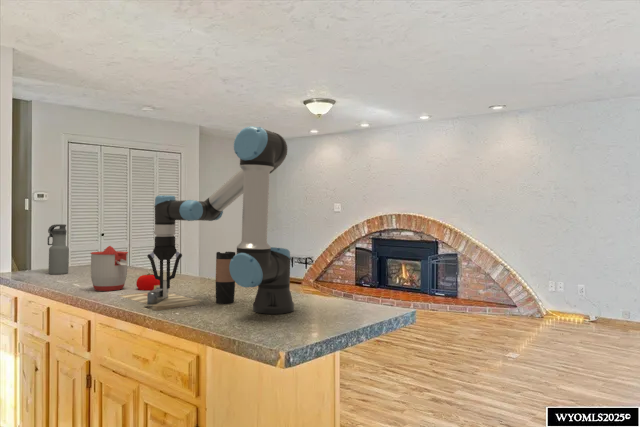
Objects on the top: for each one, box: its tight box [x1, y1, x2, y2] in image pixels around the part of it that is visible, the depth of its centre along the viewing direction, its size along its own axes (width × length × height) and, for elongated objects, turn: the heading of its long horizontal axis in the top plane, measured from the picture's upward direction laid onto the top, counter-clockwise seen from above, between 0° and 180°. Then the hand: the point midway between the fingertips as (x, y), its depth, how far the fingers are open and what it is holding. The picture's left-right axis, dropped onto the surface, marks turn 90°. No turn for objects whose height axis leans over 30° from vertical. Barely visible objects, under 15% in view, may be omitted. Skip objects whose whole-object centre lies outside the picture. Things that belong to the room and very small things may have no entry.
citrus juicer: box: [90, 245, 129, 293], centre depth 205 cm, size 16×17×20 cm
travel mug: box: [215, 251, 236, 305], centre depth 179 cm, size 8×8×20 cm
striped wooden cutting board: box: [117, 291, 201, 312], centre depth 178 cm, size 31×18×2 cm, turn 49°
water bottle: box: [47, 223, 70, 276], centre depth 256 cm, size 10×10×28 cm
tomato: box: [135, 272, 160, 292], centre depth 199 cm, size 9×10×8 cm
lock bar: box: [146, 286, 169, 305], centre depth 173 cm, size 16×5×4 cm, turn 3°
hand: (164, 297), depth 172 cm, fingers closed
